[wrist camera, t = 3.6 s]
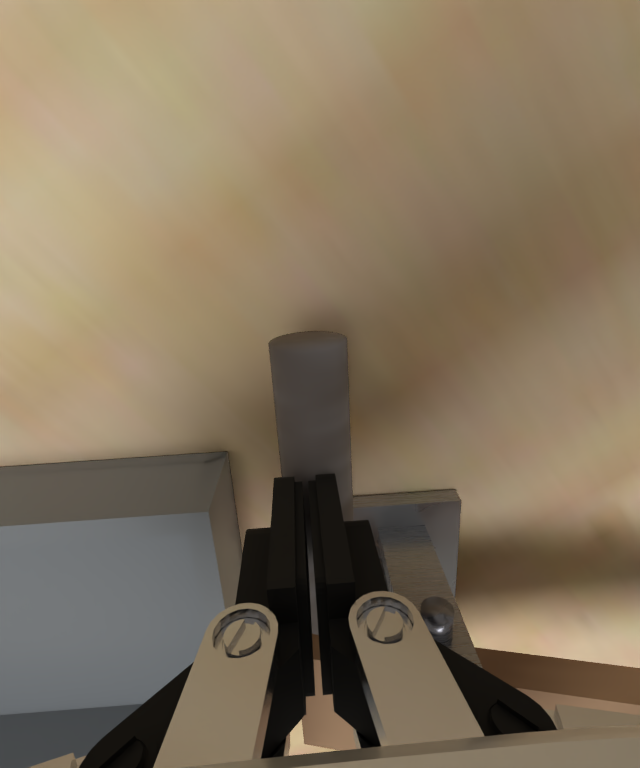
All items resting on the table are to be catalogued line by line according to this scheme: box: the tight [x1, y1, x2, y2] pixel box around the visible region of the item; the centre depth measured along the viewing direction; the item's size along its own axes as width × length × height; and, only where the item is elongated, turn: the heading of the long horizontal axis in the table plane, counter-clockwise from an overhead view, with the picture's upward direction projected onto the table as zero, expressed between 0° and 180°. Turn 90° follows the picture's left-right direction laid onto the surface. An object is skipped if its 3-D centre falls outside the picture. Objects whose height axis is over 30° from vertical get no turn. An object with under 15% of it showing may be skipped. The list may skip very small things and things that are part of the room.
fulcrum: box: [353, 490, 482, 668], centre depth 17 cm, size 5×9×7 cm, turn 3°
